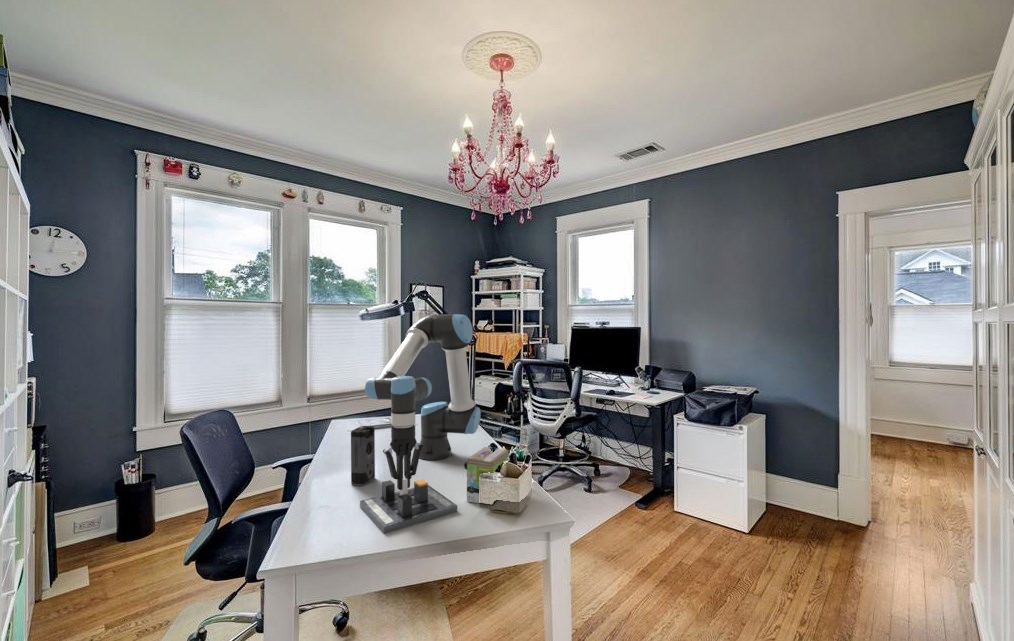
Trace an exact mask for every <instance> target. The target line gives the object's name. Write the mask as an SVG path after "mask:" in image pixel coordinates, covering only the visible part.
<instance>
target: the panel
mask: <svg viewBox="0 0 1014 641" xmlns="http://www.w3.org/2000/svg"><path fill="white" fill-rule="evenodd" d="M395 485H396V484H395V483H394V482H393V481H392V480H391V479H390V480H385V481H381V495H378V496H373V497H371V498H366V499H363V500H359V508H361V510H362V511H363V512H364V513H365V515H367V516H368V518H369V519H371V521H372V522H373V523H374V524H375V525H376V527H377V528H379V530H380V531H381V532H382V533H383V535H384V534H388V533H391V532H395V531H398V530H401V529H404V528H408V527H411V526H414V525H415V526H416V525H419V524H422V523H425V522H427V521H431V520H434V519H435V520H436V519H437V518H441V517H442V518H443V517H445V516H449V515H452V514H455V513H458V504H456V503H455V502H453V501H452V500H450V499H449V498H448V497H446V496H444V495H443V494H441V492H439V491H437V490H436V489H435V488H434V487H432V486H430V485H429V484H428V500H425V501H421V502H419V501H417V500H416V499H415V498H414V487H411V488H408V494H404V495H400V490H399V491H396V490H395V489H396V488H395V487H396V486H395Z"/></svg>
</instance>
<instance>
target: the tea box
mask: <svg viewBox="0 0 1014 641" xmlns="http://www.w3.org/2000/svg"><path fill="white" fill-rule="evenodd" d="M490 448H491V447H489V446H488V447H487V446H484V447H482V448H481V449H480V450H478V451H476V452H475V453H474V454H472V455H470V456H469V457H467V458H466V459H467V460H466V461H467V463H466V464H467V465H466V467H467V468H466V502H469V503H474V504H479V476H480V474H483V473H488V472H490V473H494V472H495V470H496V469H497V467H498V466H499V465H501V464H502V463H503V461H505V460H506V458H507V456H508V455H509V456H510V454H509V452H510V451H509V449H504V448H496V450H495V451H494V452H491V449H490Z"/></svg>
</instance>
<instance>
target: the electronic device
mask: <svg viewBox="0 0 1014 641" xmlns="http://www.w3.org/2000/svg"><path fill="white" fill-rule="evenodd" d="M375 441H376V440H375V427H374V426H373V425H361V426H358V427H357V428H354V429H352V430H351V431H350V474H351V475H350V481H351V482H350V483H351V485H353V486H357V487H358V486H360V487H363V486H366V485H368V484H369V483H370V482H372V481H373V480H374V479H375V477H376V464H375V463H376V454H375V453H376V450H375V449H376V448H375V446H376V445H375V444H376V443H375Z"/></svg>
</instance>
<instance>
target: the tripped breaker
mask: <svg viewBox="0 0 1014 641" xmlns="http://www.w3.org/2000/svg"><path fill="white" fill-rule="evenodd" d="M428 483H429V482H428V481H426V480H424V479H423V478H422V479H421V478H420V479H418V480H414V481H413V484H414V485H413V488H414V498H415V499H416V500H417V501H419V502H421V501H425V500H428V485H429V484H428Z"/></svg>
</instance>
